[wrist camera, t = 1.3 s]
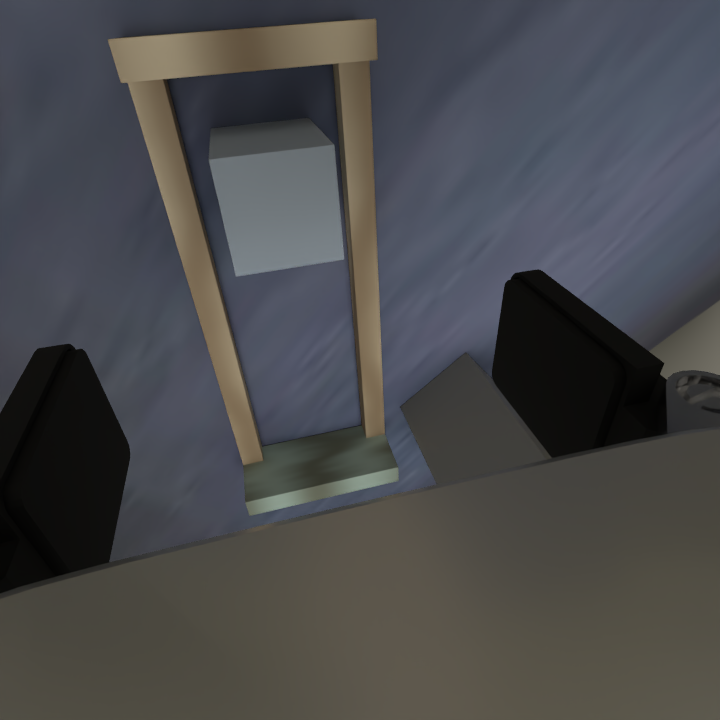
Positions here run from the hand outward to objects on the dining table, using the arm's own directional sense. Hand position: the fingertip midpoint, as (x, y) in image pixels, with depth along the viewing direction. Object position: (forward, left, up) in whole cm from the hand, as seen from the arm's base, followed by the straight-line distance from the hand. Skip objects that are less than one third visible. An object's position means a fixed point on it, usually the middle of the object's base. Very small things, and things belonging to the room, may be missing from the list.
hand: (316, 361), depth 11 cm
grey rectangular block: (0, 0, -19) cm, 19 cm away
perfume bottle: (-12, +20, -19) cm, 30 cm away
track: (0, +8, -19) cm, 20 cm away
